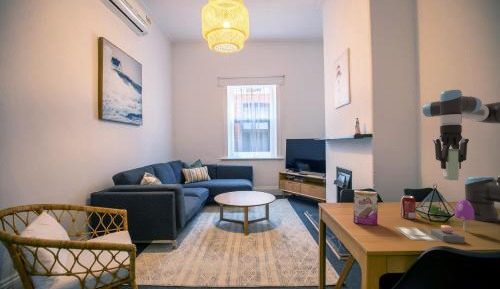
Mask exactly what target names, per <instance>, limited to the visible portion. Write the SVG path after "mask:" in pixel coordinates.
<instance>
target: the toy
mask: <svg viewBox="0 0 500 289" xmlns="http://www.w3.org/2000/svg"><path fill="white" fill-rule="evenodd" d="M454 217H456V218H458V219H460V220H463V221H462V222H463V223H462V224H463V225H462V226H463V227H462V228H463V229H462V231H463V232H467V221H473V220H475V219H474V210H473V207H472V205H471V204H470V202H469V201H467V200H465V199H461V200H459V201H458V202H457V203H456V206H455V210H454Z"/></svg>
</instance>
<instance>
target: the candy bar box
mask: <svg viewBox="0 0 500 289" xmlns="http://www.w3.org/2000/svg"><path fill="white" fill-rule="evenodd" d="M378 200H379V195H378V192H377V191H367V190H355V189H354V190H353V223H354V224H361V225H369V226H375V227H376V226H377V227H378V213H379V212H378V211H379V210H378V208H379V207H378V203H379V202H378Z"/></svg>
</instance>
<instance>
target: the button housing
mask: <svg viewBox="0 0 500 289" xmlns="http://www.w3.org/2000/svg"><path fill="white" fill-rule="evenodd" d="M430 229H431V235H433V236H434V237H436V238H438V239H440V240H441V241H443V243H456V242H458V244H460V243H461V244H463V243H464V244H465V242H466V239H465V238H466V237H465V236H464V235H462V234H460V233H458V232H455V231H454V230H453V232H450V234H445V233H444V231H443V230H441V228H430Z"/></svg>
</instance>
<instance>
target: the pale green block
mask: <svg viewBox="0 0 500 289" xmlns="http://www.w3.org/2000/svg"><path fill="white" fill-rule="evenodd" d="M459 149H460V148H459ZM459 149H452V148H449V149H448V157H447V161H446V162H449V177H447V176H443V180H447V181H459V177H458V151H459Z"/></svg>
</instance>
